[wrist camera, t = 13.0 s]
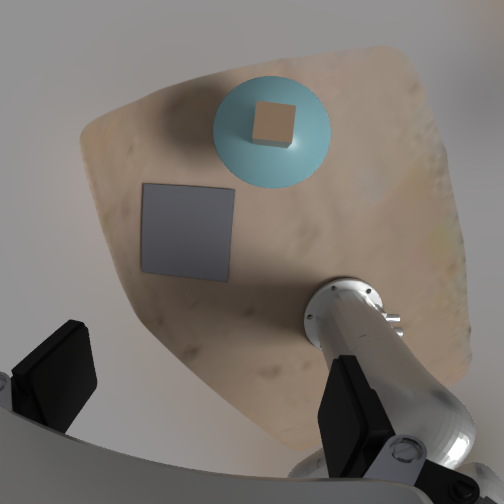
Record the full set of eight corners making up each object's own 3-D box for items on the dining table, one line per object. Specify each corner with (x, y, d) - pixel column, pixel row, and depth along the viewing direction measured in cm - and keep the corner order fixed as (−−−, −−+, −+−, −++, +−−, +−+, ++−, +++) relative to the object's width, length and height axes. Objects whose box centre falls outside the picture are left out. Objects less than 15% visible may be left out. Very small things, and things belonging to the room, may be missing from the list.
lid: (333, 87, 29) (347, 71, 23) (322, 195, 32) (334, 199, 26) (221, 73, 29) (213, 54, 23) (208, 181, 32) (196, 182, 26)
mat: (235, 189, 42) (234, 190, 41) (227, 280, 45) (227, 281, 44) (145, 183, 42) (144, 183, 41) (142, 270, 45) (141, 271, 44)
